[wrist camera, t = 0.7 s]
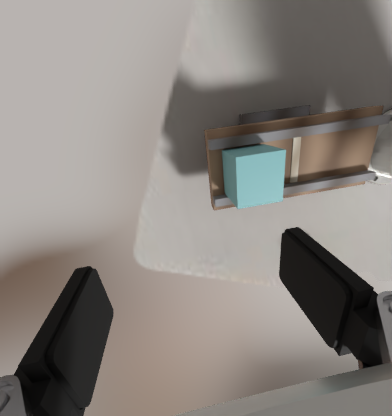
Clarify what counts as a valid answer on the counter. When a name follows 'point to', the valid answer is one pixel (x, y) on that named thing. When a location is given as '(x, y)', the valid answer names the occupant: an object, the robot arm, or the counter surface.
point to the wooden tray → (302, 147)
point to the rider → (254, 174)
